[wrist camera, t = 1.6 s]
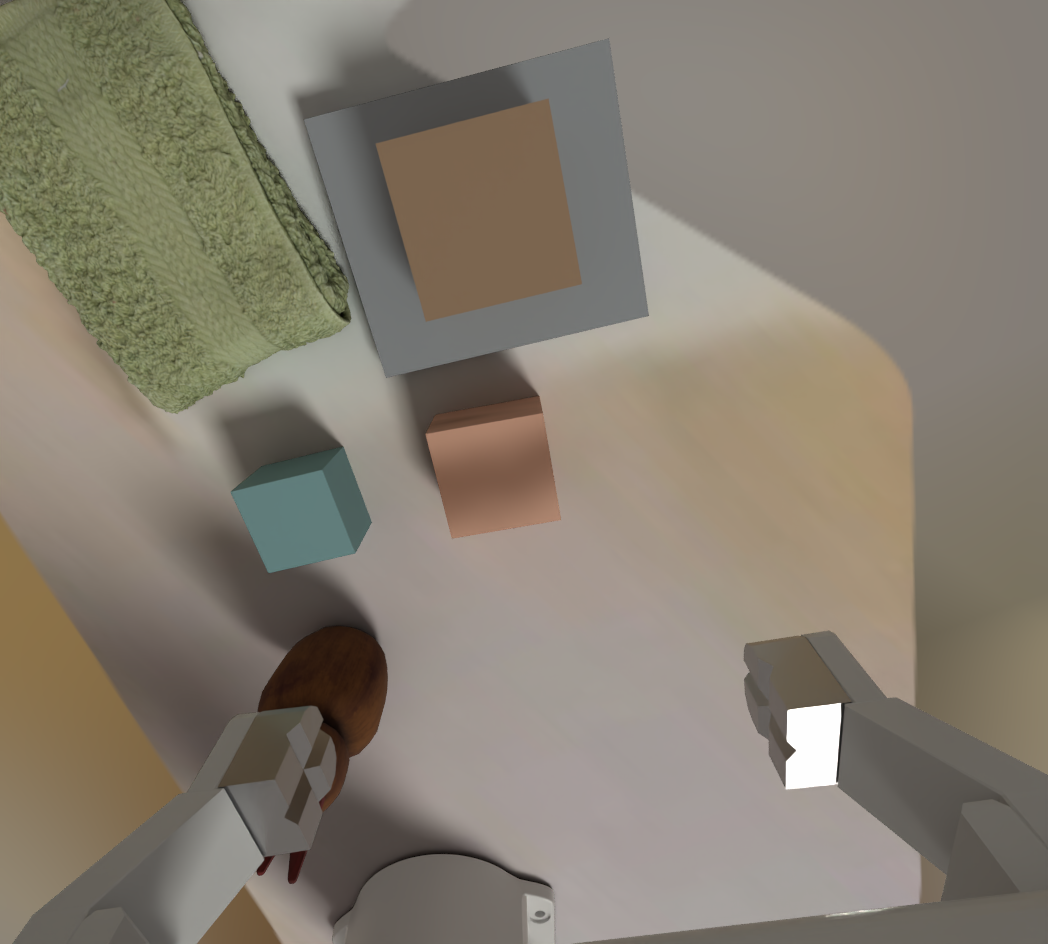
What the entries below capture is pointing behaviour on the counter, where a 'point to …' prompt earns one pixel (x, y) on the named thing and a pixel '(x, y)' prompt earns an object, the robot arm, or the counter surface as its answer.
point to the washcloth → (154, 197)
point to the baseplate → (583, 194)
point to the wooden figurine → (332, 698)
